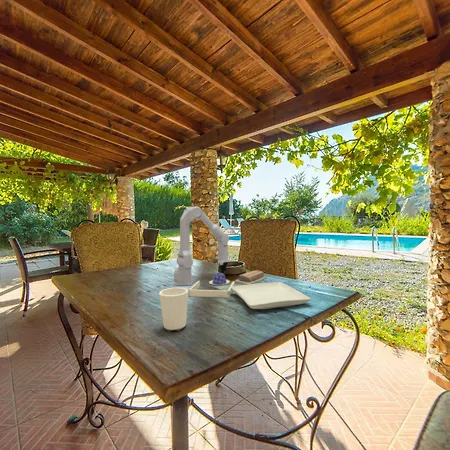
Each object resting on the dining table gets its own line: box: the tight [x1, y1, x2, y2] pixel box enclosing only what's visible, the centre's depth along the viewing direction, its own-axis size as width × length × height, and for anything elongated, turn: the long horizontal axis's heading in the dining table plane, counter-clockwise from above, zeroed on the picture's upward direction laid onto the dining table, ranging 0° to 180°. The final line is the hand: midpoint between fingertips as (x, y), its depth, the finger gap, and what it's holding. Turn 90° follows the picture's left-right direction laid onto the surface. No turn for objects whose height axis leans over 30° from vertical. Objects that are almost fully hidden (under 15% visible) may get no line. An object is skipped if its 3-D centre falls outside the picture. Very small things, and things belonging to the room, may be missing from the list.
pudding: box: [208, 272, 231, 286], centre depth 146 cm, size 12×12×5 cm
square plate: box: [231, 281, 312, 310], centre depth 116 cm, size 27×27×4 cm
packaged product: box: [234, 269, 267, 285], centre depth 149 cm, size 18×5×10 cm
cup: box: [158, 286, 189, 333], centre depth 90 cm, size 10×10×13 cm
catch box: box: [187, 280, 236, 299], centre depth 130 cm, size 20×17×3 cm
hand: (223, 274), depth 160 cm, fingers closed
